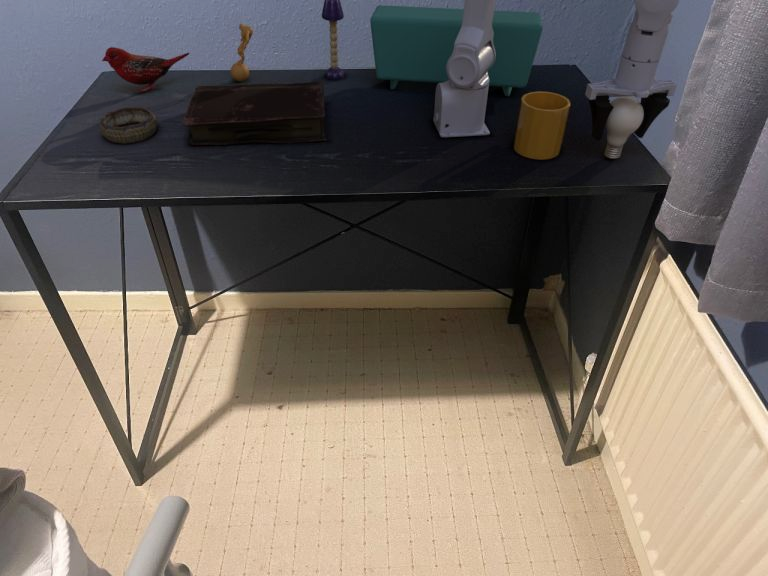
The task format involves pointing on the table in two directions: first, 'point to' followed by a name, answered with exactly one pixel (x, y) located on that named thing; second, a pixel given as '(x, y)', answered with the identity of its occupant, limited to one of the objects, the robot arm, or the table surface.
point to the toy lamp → (333, 35)
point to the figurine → (242, 55)
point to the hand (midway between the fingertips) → (617, 136)
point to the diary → (257, 114)
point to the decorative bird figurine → (139, 67)
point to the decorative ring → (126, 116)
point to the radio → (449, 44)
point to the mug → (541, 125)
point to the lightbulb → (622, 124)
